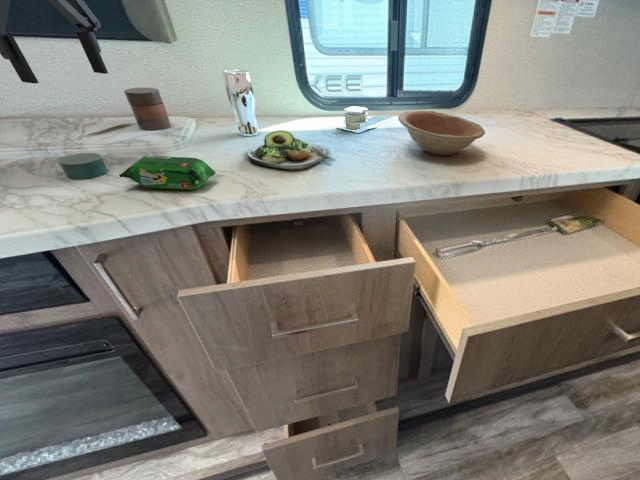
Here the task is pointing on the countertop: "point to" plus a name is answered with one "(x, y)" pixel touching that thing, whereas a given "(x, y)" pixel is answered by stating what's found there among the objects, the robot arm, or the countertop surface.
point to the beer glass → (241, 100)
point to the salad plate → (286, 152)
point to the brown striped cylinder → (148, 108)
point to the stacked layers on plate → (355, 117)
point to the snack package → (169, 172)
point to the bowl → (440, 131)
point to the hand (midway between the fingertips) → (68, 77)
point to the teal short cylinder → (83, 165)
